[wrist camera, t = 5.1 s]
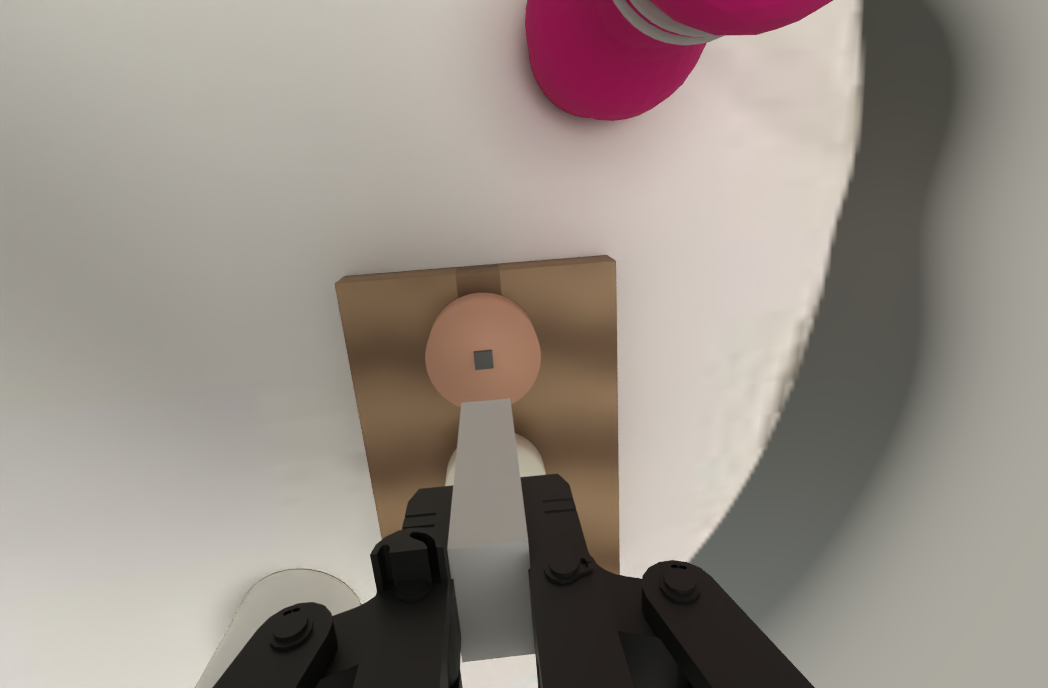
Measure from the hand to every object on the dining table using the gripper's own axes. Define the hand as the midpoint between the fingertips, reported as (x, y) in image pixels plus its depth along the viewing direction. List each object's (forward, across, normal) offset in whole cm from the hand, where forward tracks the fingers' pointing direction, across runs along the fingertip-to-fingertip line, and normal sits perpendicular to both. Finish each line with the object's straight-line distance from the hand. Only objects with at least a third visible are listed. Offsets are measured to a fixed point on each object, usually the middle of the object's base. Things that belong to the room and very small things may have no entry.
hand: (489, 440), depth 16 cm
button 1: (+11, 0, 0) cm, 11 cm away
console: (+13, 0, -7) cm, 15 cm away
